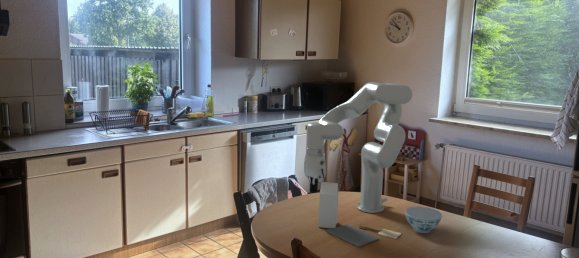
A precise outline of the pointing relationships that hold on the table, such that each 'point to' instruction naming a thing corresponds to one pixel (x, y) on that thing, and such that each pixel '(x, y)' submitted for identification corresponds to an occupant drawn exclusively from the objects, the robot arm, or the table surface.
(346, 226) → the mat
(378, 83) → the robot arm
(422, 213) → the chinaware
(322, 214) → the milk carton
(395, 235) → the turner
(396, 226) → the table surface
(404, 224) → the table surface
